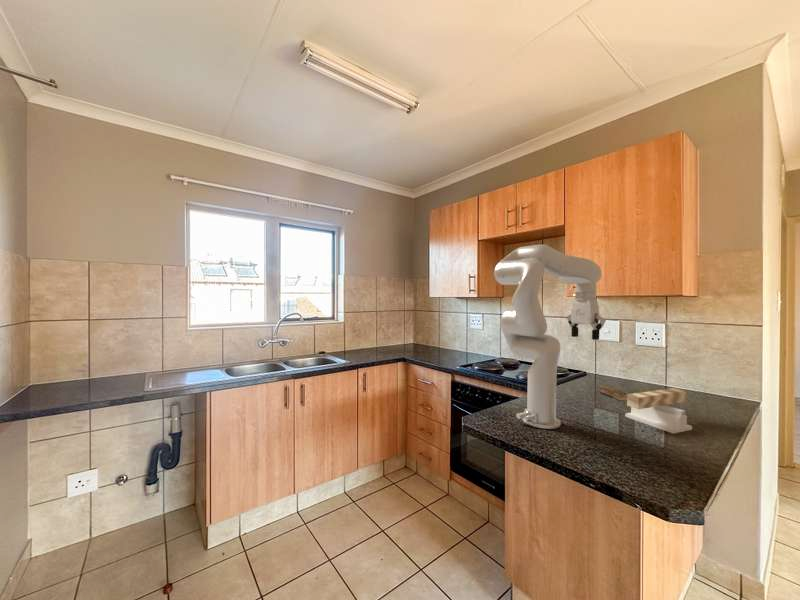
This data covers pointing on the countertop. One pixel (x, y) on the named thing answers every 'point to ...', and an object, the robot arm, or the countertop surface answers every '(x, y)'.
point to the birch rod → (656, 398)
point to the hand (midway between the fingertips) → (584, 338)
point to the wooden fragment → (613, 393)
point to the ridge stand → (662, 418)
